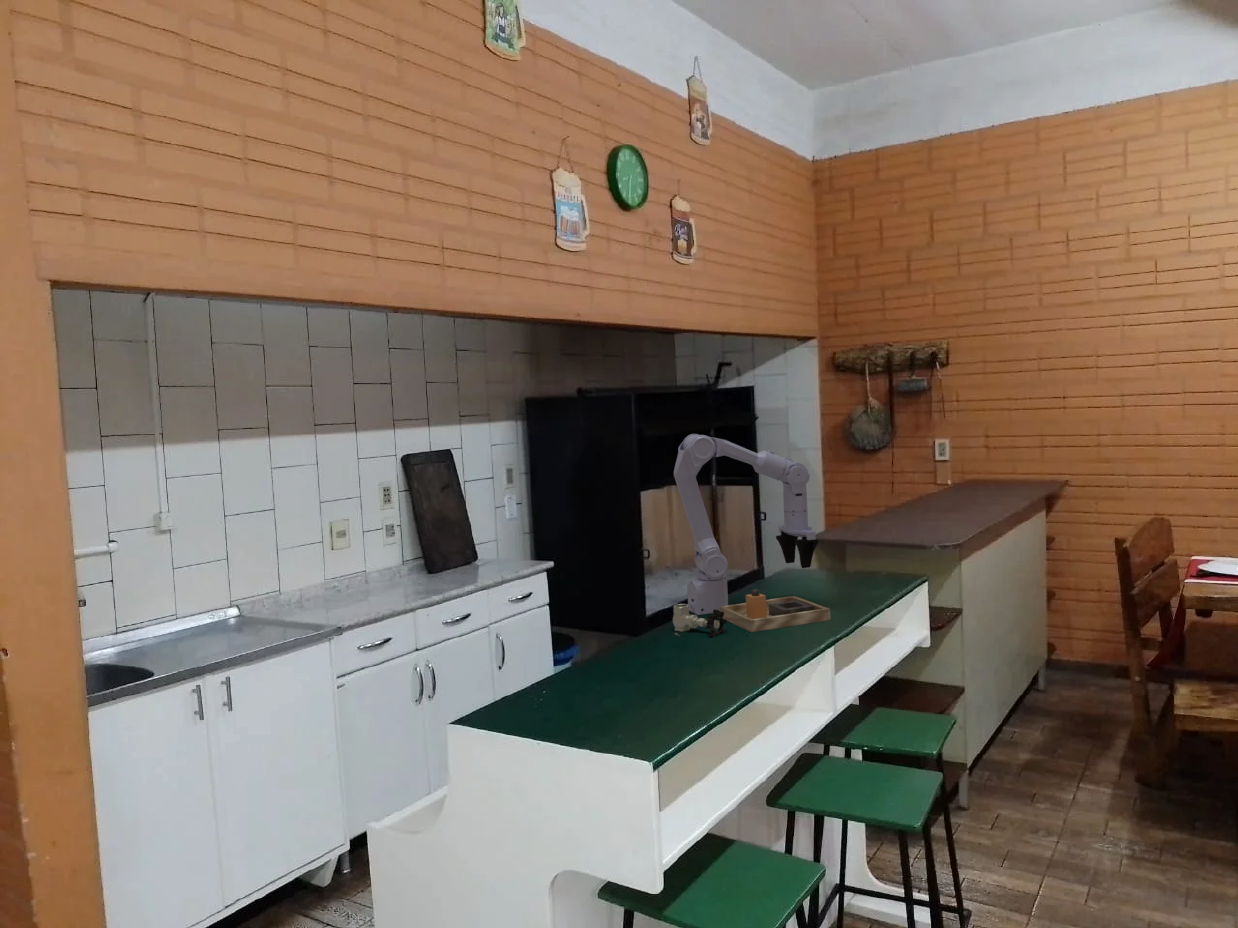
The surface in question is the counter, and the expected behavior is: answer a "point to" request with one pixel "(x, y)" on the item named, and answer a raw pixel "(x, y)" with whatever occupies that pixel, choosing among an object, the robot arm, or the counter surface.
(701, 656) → the counter surface
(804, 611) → the walled box
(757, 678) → the counter surface
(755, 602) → the connector
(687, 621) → the valve
